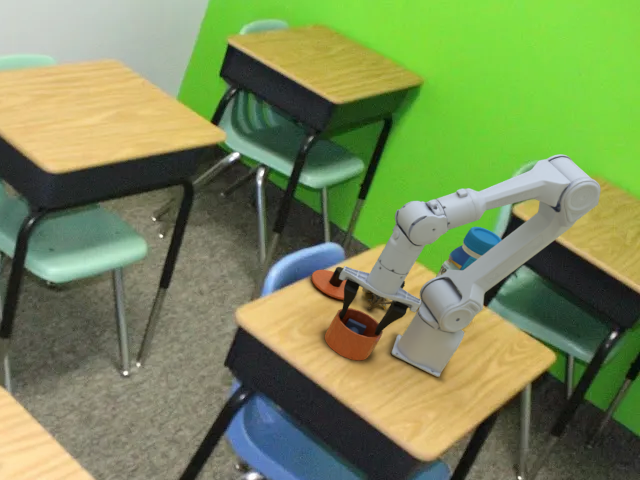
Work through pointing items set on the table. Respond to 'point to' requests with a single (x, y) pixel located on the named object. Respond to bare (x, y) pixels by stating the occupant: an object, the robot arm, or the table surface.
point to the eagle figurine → (378, 299)
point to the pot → (352, 335)
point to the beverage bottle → (470, 250)
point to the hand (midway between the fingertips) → (359, 324)
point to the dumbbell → (355, 326)
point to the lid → (330, 282)
